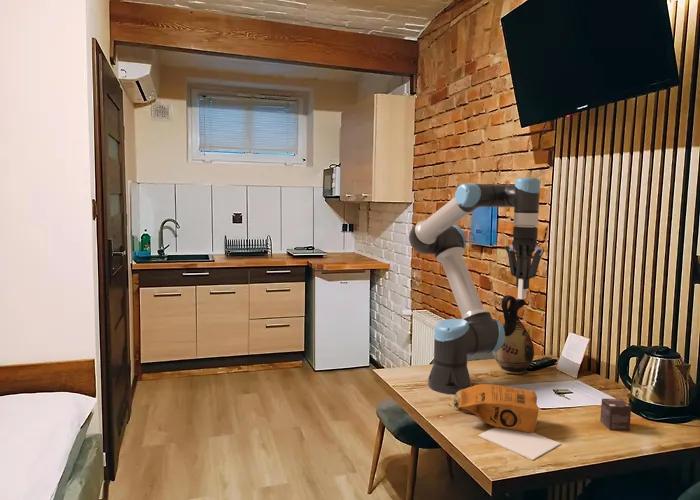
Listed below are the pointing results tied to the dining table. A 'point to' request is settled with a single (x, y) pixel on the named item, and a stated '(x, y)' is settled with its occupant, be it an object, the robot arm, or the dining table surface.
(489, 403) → the coffee package
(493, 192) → the robot arm
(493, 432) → the mat
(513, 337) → the ceramic jug
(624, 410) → the box
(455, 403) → the bread roll
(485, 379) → the dining table surface
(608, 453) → the dining table surface
